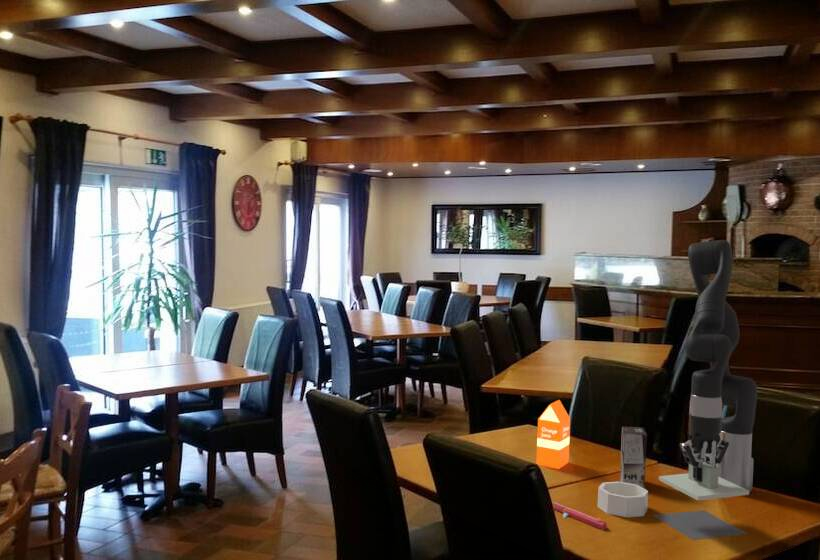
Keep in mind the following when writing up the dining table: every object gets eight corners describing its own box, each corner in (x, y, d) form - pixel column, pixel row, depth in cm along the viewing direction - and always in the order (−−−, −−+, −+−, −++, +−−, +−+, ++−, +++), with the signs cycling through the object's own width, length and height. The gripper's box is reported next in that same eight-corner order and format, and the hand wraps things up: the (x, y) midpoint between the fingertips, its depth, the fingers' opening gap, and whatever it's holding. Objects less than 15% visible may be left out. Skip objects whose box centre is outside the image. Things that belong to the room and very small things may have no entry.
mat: (703, 511, 192) (703, 510, 192) (747, 535, 177) (747, 533, 177) (652, 516, 188) (652, 514, 188) (692, 541, 172) (692, 539, 172)
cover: (706, 475, 191) (707, 452, 191) (749, 494, 177) (750, 470, 177) (658, 480, 187) (659, 457, 186) (697, 500, 172) (698, 475, 172)
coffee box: (645, 490, 208) (647, 434, 208) (622, 487, 210) (624, 433, 209) (641, 480, 217) (644, 427, 217) (619, 478, 219) (621, 425, 218)
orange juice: (569, 462, 233) (571, 401, 232) (559, 469, 226) (561, 405, 225) (546, 457, 237) (548, 397, 236) (535, 464, 230) (538, 402, 229)
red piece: (598, 535, 177) (610, 526, 180) (597, 528, 177) (609, 518, 179) (527, 505, 196) (538, 497, 199) (525, 499, 196) (537, 490, 198)
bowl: (628, 500, 200) (629, 480, 199) (655, 516, 188) (656, 495, 188) (590, 503, 196) (591, 483, 196) (615, 519, 185) (615, 498, 184)
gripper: (718, 407, 186) (715, 473, 187) (672, 411, 182) (669, 478, 183) (739, 414, 179) (736, 483, 180) (692, 418, 175) (689, 488, 176)
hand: (702, 480), depth 182 cm, fingers closed on cover, 2 cm apart
